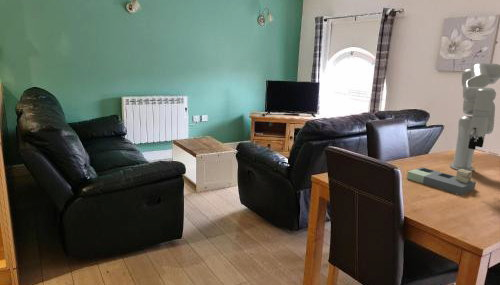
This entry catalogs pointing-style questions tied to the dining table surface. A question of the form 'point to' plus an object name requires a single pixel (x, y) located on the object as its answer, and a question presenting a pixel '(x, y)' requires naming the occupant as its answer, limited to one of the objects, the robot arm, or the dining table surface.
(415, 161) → the dining table surface
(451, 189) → the board
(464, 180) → the maple block
